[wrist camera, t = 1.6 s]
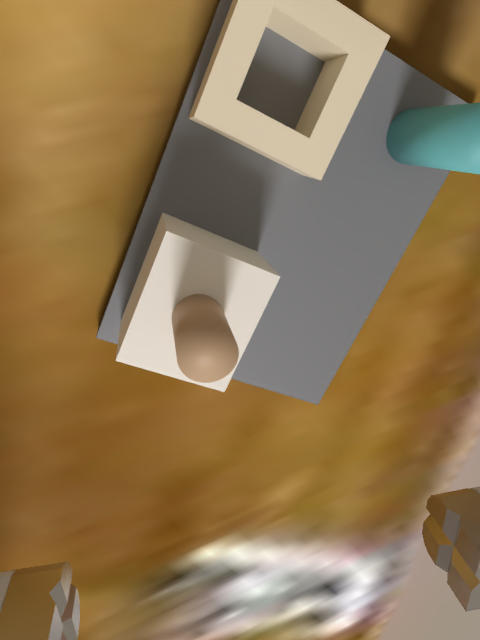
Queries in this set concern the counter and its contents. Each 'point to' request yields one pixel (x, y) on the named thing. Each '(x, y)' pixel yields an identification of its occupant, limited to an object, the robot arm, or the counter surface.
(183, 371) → the cover
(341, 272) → the board
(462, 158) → the pin
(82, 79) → the counter surface
